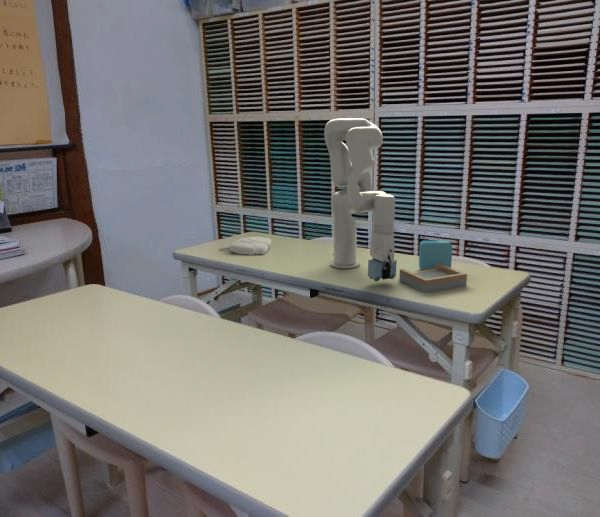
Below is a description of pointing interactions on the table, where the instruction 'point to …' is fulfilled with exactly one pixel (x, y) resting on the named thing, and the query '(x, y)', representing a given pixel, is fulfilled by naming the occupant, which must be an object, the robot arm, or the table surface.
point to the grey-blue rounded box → (379, 269)
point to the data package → (434, 254)
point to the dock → (434, 278)
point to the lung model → (250, 245)
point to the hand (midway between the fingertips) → (381, 276)
